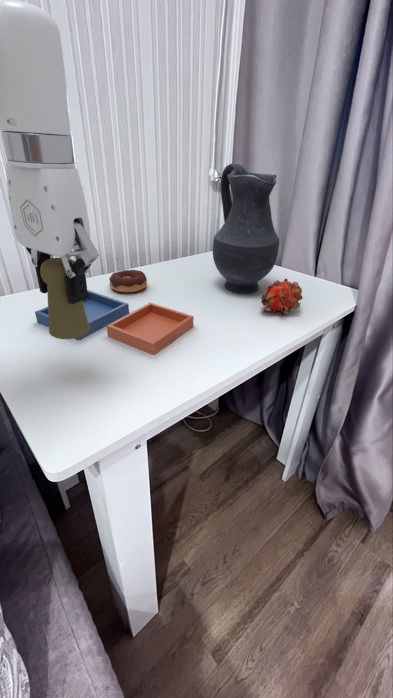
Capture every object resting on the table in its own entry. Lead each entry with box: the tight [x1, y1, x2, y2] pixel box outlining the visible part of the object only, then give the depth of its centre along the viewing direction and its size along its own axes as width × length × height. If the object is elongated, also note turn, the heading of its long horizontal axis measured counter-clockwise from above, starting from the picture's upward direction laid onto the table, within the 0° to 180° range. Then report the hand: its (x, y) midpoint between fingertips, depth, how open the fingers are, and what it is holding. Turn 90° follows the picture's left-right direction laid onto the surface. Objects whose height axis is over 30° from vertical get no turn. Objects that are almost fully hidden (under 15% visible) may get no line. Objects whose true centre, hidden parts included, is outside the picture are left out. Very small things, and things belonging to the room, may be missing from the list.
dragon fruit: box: [260, 278, 304, 315], centre depth 80 cm, size 8×8×12 cm
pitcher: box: [212, 163, 280, 295], centre depth 87 cm, size 17×21×30 cm
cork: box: [40, 257, 90, 340], centre depth 49 cm, size 6×6×11 cm
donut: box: [108, 269, 148, 293], centre depth 89 cm, size 10×10×4 cm
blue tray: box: [34, 289, 130, 341], centre depth 74 cm, size 15×13×2 cm
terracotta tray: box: [106, 302, 195, 356], centre depth 70 cm, size 14×12×2 cm
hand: (64, 294), depth 49 cm, fingers closed on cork, 5 cm apart
